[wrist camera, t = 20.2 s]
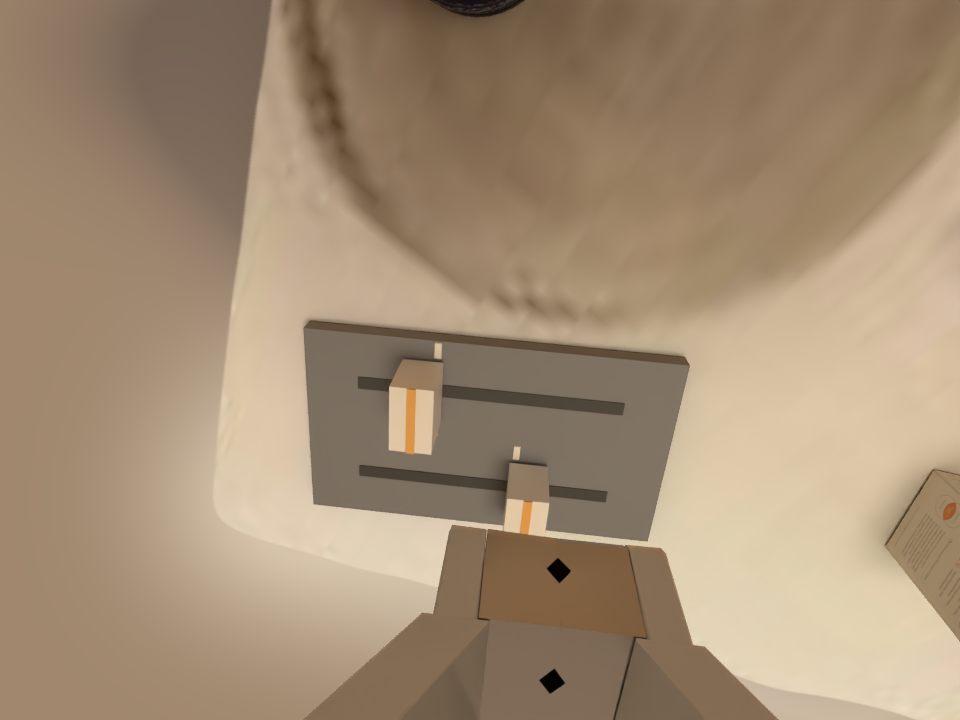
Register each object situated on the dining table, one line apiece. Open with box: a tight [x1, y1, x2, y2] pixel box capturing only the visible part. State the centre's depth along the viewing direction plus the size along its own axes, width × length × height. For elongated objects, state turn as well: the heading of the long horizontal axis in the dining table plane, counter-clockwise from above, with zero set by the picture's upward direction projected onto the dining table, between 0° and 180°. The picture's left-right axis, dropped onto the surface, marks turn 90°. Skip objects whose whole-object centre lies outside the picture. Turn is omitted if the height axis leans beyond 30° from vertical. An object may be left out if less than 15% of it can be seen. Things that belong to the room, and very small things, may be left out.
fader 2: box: [503, 463, 549, 537], centre depth 45 cm, size 3×5×5 cm, turn 176°
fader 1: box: [389, 359, 444, 455], centre depth 42 cm, size 3×5×5 cm, turn 176°
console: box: [304, 321, 690, 541], centre depth 47 cm, size 28×16×2 cm, turn 86°
